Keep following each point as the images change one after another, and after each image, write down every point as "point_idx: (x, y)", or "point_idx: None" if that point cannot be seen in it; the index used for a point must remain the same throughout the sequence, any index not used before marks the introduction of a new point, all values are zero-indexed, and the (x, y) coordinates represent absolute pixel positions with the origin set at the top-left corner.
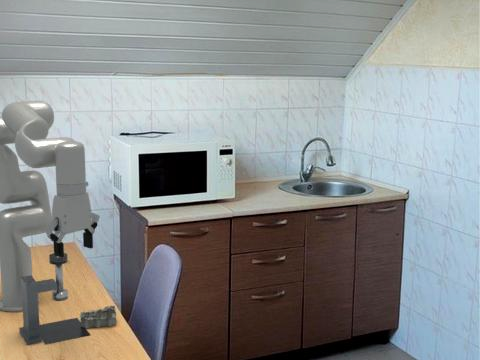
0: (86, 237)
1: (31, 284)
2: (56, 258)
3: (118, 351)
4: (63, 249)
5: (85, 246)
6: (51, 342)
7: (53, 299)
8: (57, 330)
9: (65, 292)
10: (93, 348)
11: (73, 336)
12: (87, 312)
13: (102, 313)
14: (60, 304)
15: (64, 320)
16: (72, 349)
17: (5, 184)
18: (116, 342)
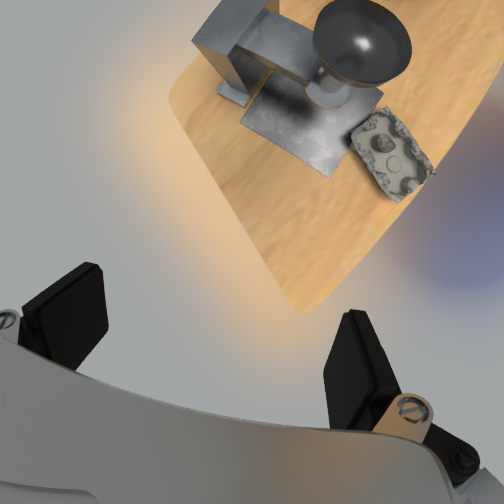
0: (346, 395)
1: (208, 48)
2: (325, 54)
3: (293, 276)
4: (84, 356)
5: (340, 329)
6: (254, 127)
7: None
8: None
9: (334, 102)
10: (279, 225)
11: (303, 148)
12: (395, 118)
13: (409, 152)
14: (411, 25)
15: None
16: (253, 190)
17: None
18: (325, 249)
